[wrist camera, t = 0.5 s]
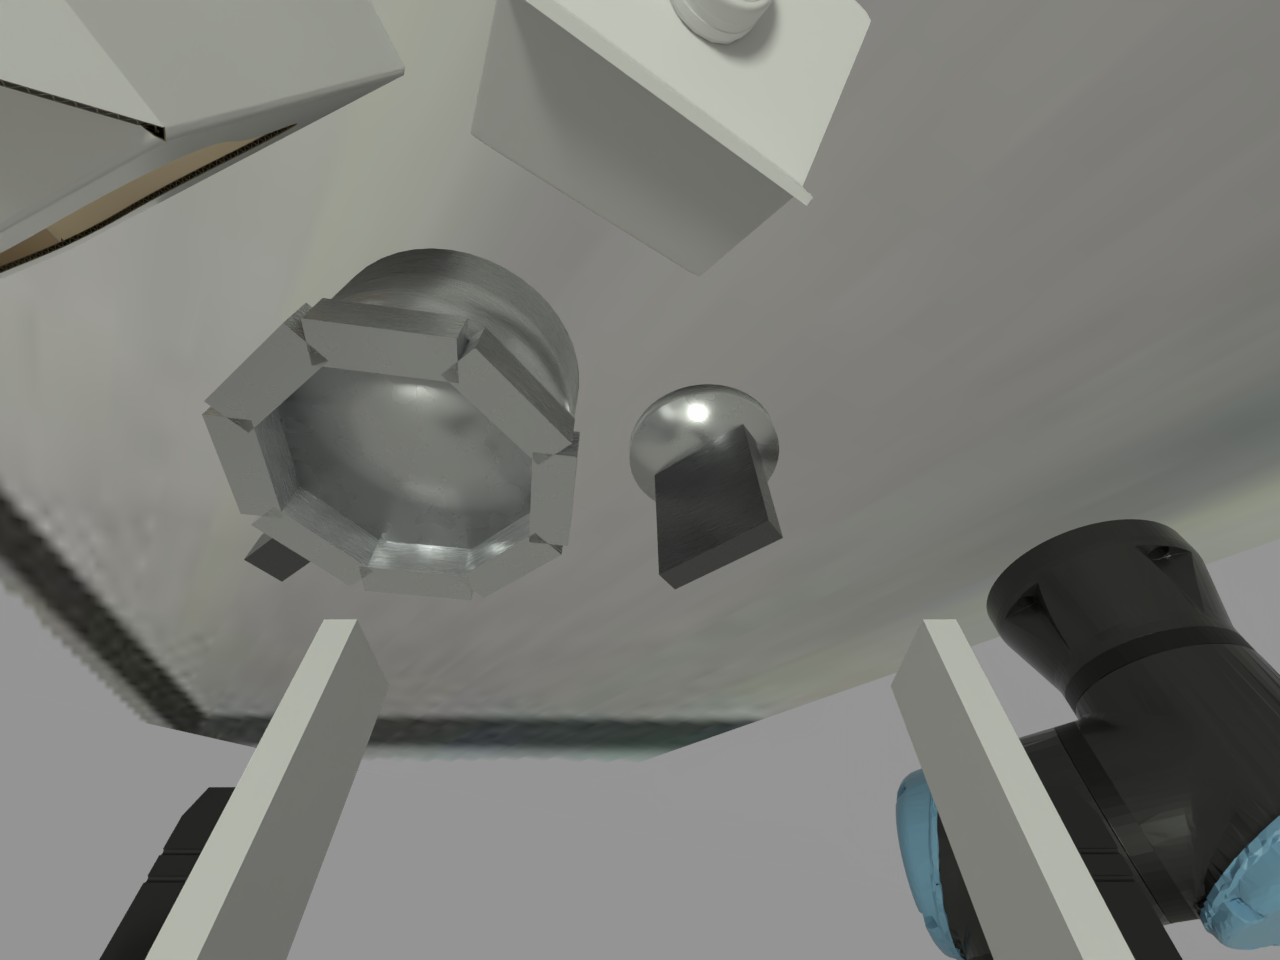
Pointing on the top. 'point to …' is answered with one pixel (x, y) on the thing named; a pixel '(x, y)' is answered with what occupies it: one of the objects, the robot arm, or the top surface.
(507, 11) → the milk carton
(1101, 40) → the top surface
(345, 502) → the pot
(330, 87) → the gable box
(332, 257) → the top surface
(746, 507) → the lid
